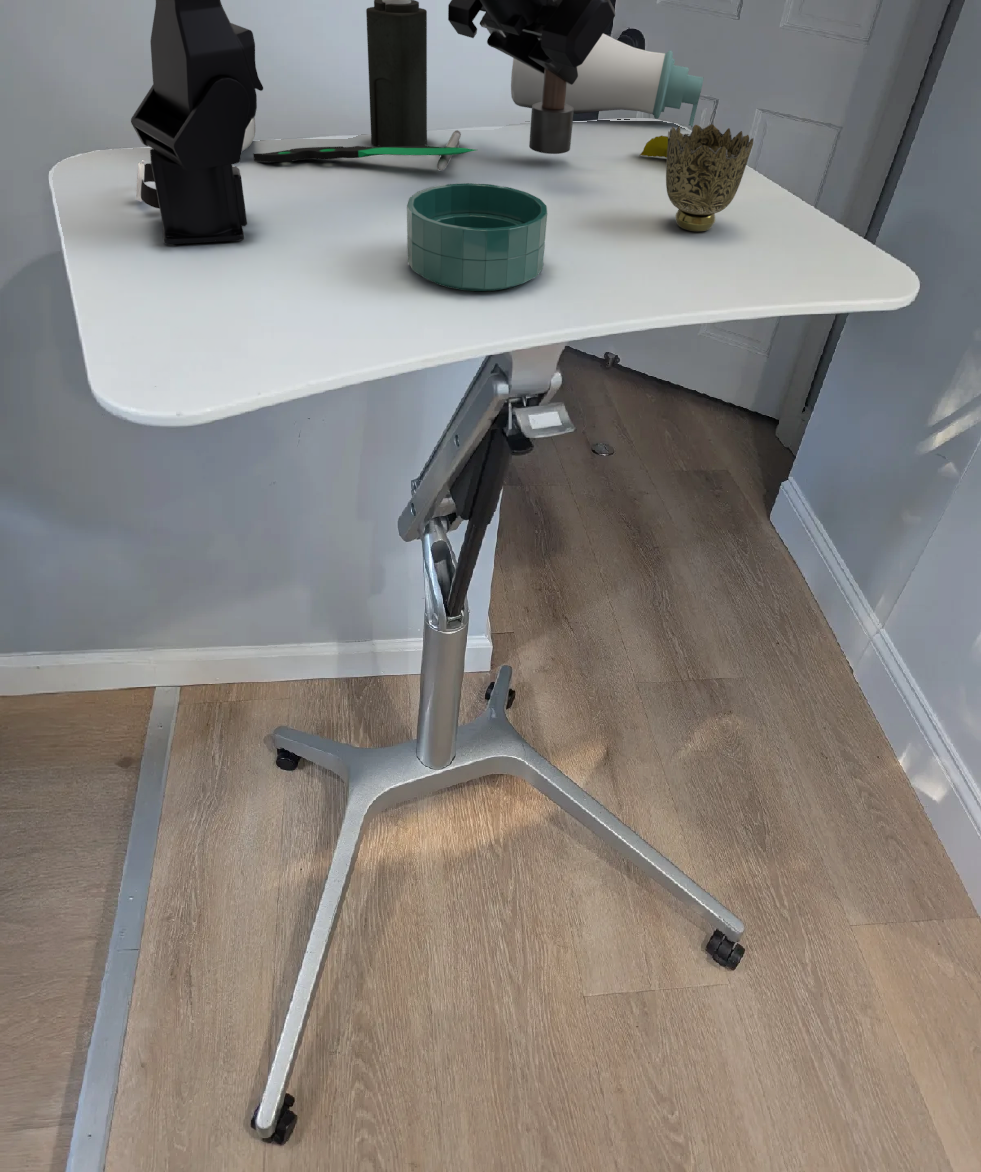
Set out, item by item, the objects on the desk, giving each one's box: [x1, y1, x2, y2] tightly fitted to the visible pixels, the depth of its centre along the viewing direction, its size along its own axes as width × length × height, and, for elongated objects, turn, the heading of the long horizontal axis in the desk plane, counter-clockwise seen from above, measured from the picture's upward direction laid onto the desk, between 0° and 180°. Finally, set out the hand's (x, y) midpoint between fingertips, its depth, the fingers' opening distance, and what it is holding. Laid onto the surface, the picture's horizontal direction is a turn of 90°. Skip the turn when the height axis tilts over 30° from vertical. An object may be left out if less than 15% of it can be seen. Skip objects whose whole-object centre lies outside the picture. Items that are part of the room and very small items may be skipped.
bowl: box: [406, 182, 548, 292], centre depth 72 cm, size 11×11×5 cm
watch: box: [135, 159, 160, 210], centre depth 81 cm, size 8×5×4 cm, turn 16°
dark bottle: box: [365, 0, 428, 147], centre depth 92 cm, size 5×5×25 cm
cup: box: [665, 123, 755, 233], centre depth 81 cm, size 8×7×8 cm
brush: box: [528, 68, 575, 155], centre depth 92 cm, size 4×4×12 cm
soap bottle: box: [510, 33, 704, 128], centre depth 110 cm, size 10×10×23 cm
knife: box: [252, 144, 477, 163], centre depth 92 cm, size 23×1×5 cm
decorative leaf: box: [639, 135, 668, 159], centre depth 98 cm, size 10×2×3 cm, turn 40°
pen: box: [436, 129, 462, 172], centre depth 95 cm, size 1×14×1 cm, turn 174°
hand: (565, 77), depth 93 cm, fingers closed on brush, 2 cm apart
